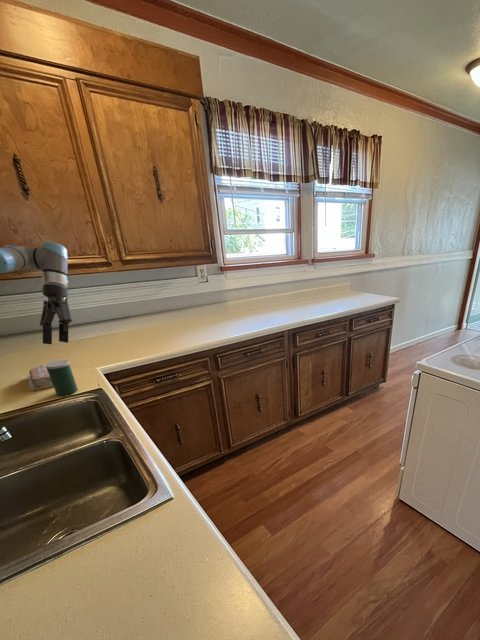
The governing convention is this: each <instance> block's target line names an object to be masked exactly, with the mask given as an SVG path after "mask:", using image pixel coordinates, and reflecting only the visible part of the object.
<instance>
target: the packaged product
mask: <svg viewBox="0 0 480 640" xmlns="http://www.w3.org/2000/svg"><path fill="white" fill-rule="evenodd" d="M45 365H46V364H41V365H38V366H36V367H34V368H31V369H30V370H29V371H28V373H29V374H28V375H26V376H27V380H28V385H29V390H30V391H31V392H34V391H38V390H43V389H48V388H54V386H53V384H52V381H51V378H50V376H49V373H48V370H47V368H46V366H45Z"/></svg>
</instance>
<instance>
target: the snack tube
mask: <svg viewBox="0 0 480 640" xmlns="http://www.w3.org/2000/svg"><path fill="white" fill-rule="evenodd" d="M44 365H45V366H46V368H47V370H48V373H49V376H50V378H51V381H52V384H53V388H54V391H55V394H56V396H57V397H67V396H66V395H69V396H72V395H71V394H73V393H75V392H76V391H78V392H79V388H78V386H77V382H76V380H75V377H74V374H73V371H72V368H71V365H70V361H69V360H67V359H59V360H53V361H50V362H48V363H46V364H44ZM75 394H76V393H75ZM73 395H74V394H73Z"/></svg>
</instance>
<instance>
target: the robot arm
mask: <svg viewBox="0 0 480 640" xmlns="http://www.w3.org/2000/svg"><path fill="white" fill-rule="evenodd" d="M68 263H69V259H68V250H67V248H66V247H65V246H64V245H62V244H60V243H58V242H53V241H44V242H43V243H42V246H41V247H29V246H21V245H15V244H14V245H13V244H12V245H10V244H9V245H7V244H6V245H3V246H1V247H0V274H9V273H12V272H17V271H23V270H39V271H40V270H41V271H42V273H41V274H42V275H41V276H42V278H41V279H42V281H41V282H42V284H43V285H42V295H43V296H44V297H46V298H47V300H43V302H42V303H43V306H42V310H41V316H40V321H39V326H41V327H42V344H43V345H53V321H54V318H55V315H56V316H57V318H58V322H57V323H58V342H61V343H69V325H70V323H72V322H73V319H72V315H71V312H70V307H69V302H68V289H67V288H68V284H69V280H68V267H69V266H68Z"/></svg>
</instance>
